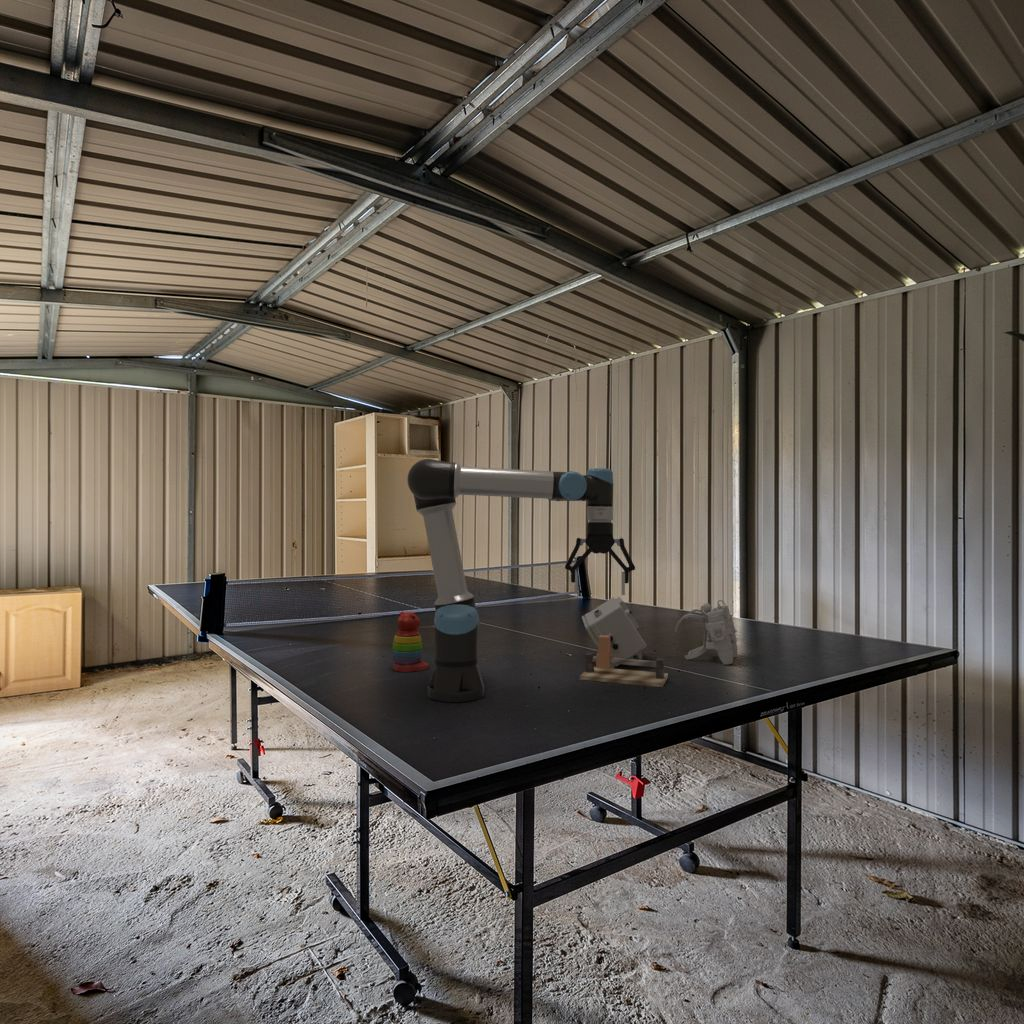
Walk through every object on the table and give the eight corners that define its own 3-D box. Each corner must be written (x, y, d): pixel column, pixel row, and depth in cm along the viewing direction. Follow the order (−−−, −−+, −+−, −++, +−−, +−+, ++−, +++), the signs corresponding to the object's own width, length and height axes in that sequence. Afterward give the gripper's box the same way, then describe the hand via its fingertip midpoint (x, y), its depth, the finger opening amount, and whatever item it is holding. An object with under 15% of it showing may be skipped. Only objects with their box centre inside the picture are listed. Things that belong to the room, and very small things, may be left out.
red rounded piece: (431, 668, 207) (432, 612, 207) (406, 674, 199) (406, 615, 199) (410, 663, 214) (410, 608, 214) (384, 668, 207) (385, 611, 207)
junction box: (661, 657, 204) (622, 597, 204) (621, 683, 204) (582, 623, 205) (649, 642, 228) (614, 589, 228) (613, 666, 228) (578, 612, 229)
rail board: (579, 679, 193) (579, 657, 193) (589, 670, 205) (589, 649, 205) (662, 687, 185) (662, 664, 185) (667, 677, 196) (667, 655, 196)
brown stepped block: (596, 667, 196) (596, 637, 196) (599, 664, 200) (599, 634, 200) (609, 669, 194) (609, 638, 194) (612, 666, 198) (612, 635, 198)
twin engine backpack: (692, 661, 232) (678, 605, 234) (746, 653, 224) (731, 596, 226) (681, 672, 216) (667, 612, 218) (739, 664, 208) (723, 602, 210)
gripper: (556, 521, 189) (556, 595, 189) (644, 522, 186) (644, 596, 186) (557, 521, 196) (557, 592, 196) (642, 521, 194) (641, 593, 194)
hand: (599, 594), depth 191 cm, fingers open, 13 cm apart
